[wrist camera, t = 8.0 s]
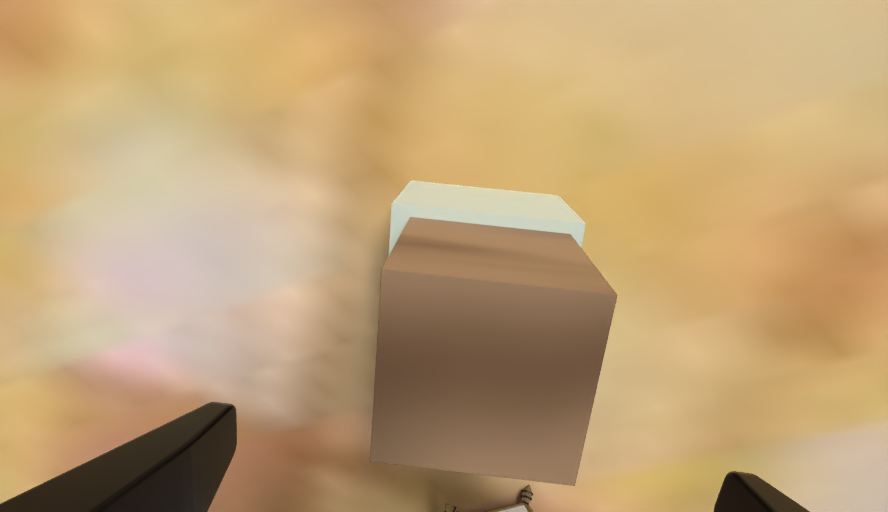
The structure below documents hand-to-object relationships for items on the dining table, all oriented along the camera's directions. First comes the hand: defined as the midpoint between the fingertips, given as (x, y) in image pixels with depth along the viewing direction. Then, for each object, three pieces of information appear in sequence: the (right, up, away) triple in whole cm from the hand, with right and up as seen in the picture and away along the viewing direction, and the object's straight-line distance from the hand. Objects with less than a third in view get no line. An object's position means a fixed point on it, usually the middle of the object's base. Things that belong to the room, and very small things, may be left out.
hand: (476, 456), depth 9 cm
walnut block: (+1, +2, +7) cm, 7 cm away
